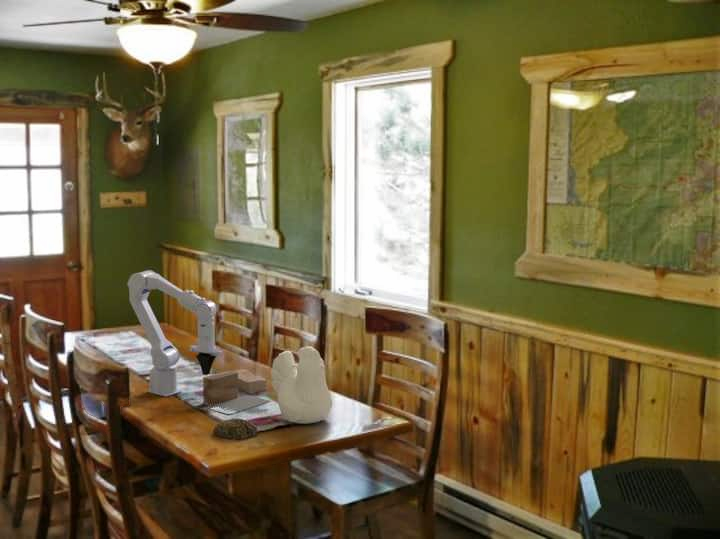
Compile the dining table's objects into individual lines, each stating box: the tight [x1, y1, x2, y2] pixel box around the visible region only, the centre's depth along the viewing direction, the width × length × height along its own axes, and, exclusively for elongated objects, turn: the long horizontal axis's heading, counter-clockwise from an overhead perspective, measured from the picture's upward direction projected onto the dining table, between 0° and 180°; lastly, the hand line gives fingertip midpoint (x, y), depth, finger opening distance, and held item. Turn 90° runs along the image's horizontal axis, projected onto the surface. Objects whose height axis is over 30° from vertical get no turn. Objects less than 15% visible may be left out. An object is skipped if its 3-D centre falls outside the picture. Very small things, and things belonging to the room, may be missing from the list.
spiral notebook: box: [206, 394, 271, 412], centre depth 265 cm, size 11×20×1 cm, turn 145°
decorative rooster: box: [270, 345, 333, 424], centre depth 252 cm, size 25×16×25 cm, turn 33°
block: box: [202, 370, 239, 406], centre depth 270 cm, size 4×12×9 cm, turn 145°
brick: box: [232, 369, 268, 394], centre depth 288 cm, size 17×8×5 cm, turn 40°
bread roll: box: [212, 418, 258, 441], centre depth 237 cm, size 13×12×5 cm
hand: (206, 374), depth 273 cm, fingers closed
